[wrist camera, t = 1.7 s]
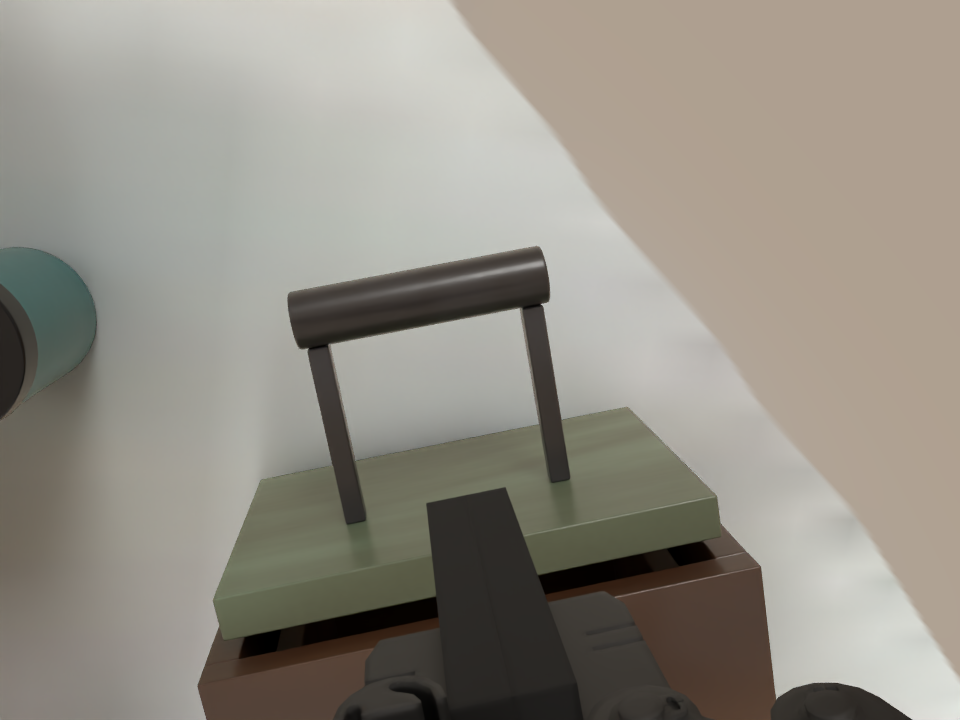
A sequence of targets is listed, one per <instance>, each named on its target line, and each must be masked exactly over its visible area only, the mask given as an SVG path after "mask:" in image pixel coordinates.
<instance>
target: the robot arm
mask: <svg viewBox="0 0 960 720" xmlns="http://www.w3.org/2000/svg"><path fill="white" fill-rule="evenodd" d="M426 507H427V516H428V525H429V534H430V543H431V553H432V562H433V571H434V580H435V589H436V598H437V607H438V617H439V626H440V628H436V629H431V630H426V631H421V632H417V633H412V634H407V635H402V636H398V637H393V638H388V639H383V640H380V641H379V642H378V643H377V645H376V646H375V648H374V649H373V651H372V652H371V654H370V655H369V657H368V658H367V659H366V661H365V678H364V683H365V686H364V687H363V688H362V689H360V690H358V691H357V692H355V693H353V694H351V695H350V696H349V697H348V698H347V699H346V700H345V701H344V702H343V703H342V704H341V705H340V706H339V707H338V709H337V711H336V714H335V716H334V719H333V720H715V719H711V718H707V717H704V716H702V715H701V713H700V711H699V710H698V708H697V706H696V705H695V704H694V703H693V702H692V701H691V700H690V699H689V698H688V697H687V696H686V695H684V694H682V693H679V692H677V691H675V690H673V689H671V687H670V686H669V684H668V682H667V680H666V678H665V676H664V675H663V673H662V671H661V669H660V667H659V665H658V664H657V662H656V660H655V658H654V656H653V654H652V652H651V651H650V649H649V647H648V645H647V643H646V641H645V640H643V636H642V634H641V632H640V630H639V629H638V627H637V625H635V621H634V619H633V618H632V616H631V614H630V612H629V610H628V608H627V606H626V605H625V603H623V602H621V601H620V600H618V599H616V598H615V597H613V596H611V595H610V594H608V593H606V592H605V591H600V592H595V593H590V594H585V595H581V596H576V597H571V598H566V599H562V600H557V601H552V602H547V599H546V596H545V594H544V591H543V588H542V585H541V583H540V580H539V577H538V574H537V572H536V569H535V566H534V563H533V561H532V558H531V555H530V553H529V550H528V547H527V544H526V542H525V539H524V536H523V533H522V531H521V528H520V525H519V522H518V520H517V517H516V514H515V512H514V509H513V506H512V503H511V501H510V498H509V495H508V492H507V490H506V487H503V488H498V489H493V490H488V491H483V492H479V493H474V494H469V495H464V496H459V497H454V498H449V499H444V500H439V501H434V502H429V503H426ZM770 713H771V720H912V719H910V718H909V717H907V716H906V715H904V714H903V713H902V712H900V711H899V710H897V709H896V708H894V707H893V706H891V705H890V704H888V703H887V702H885V701H884V700H882V699H881V698H880V697H878V696H875V695H873V694H871V693H869V692H867V691H865V690H863V689H861V688H858V687H853V686H849V685H844V684H839V683H812V684H808V685H804V686H800V687H796V688H793V689H791V690H790V691H788V692H786V693H785V694H783V695H781V696H780V697H778V698H777V700H776V702H775V703H774V705H773V707H772V708H771V710H770Z"/></svg>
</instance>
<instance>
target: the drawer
mask: <svg viewBox="0 0 960 720" xmlns="http://www.w3.org/2000/svg"><path fill="white" fill-rule="evenodd" d="M549 300H550V284H549V277H548V271H547V266H546V262H545V259H544V255H543V253H542V250H541V249H540V247H538V246H534V247H529V248H523V249H518V250H513V251H507V252H502V253H497V254H491V255H486V256H481V257H475V258H470V259H464V260H459V261H454V262H448V263H443V264H438V265H432V266H427V267H422V268H416V269H411V270H406V271H400V272H395V273H390V274H384V275H379V276H374V277H368V278H363V279H358V280H352V281H347V282H341V283H336V284H331V285H325V286H320V287H315V288H309V289H304V290H299V291H293V292H290V293H289V294H288V311H289V317H290V322H291V327H292V331H293V335H294V338H295V341H296V343H297V346H298V347H299V349H302V350H303V349H308V348H309V349H308V352H307V353H308V357H309V362H310V366H311V370H312V375H313V379H314V384H315V388H316V393H317V397H318V402H319V406H320V411H321V415H322V420H323V424H324V429H325V433H326V437H327V442H328V446H329V451H330V455H331V460H332V464H333V465H332V466H327V467H322V468H317V469H312V470H307V471H302V472H297V473H292V474H287V475H282V476H277V477H272V478H267V479H262V480H261V481H260V483H259V486H258V488H257V491H256V493H255V496H254V498H253V501H252V503H251V506H250V508H249V511H248V513H247V516H246V518H245V521H244V523H243V526H242V528H241V531H240V533H239V536H238V538H237V541H236V543H235V546H234V548H233V551H232V553H231V556H230V558H229V561H228V563H227V566H226V568H225V571H224V573H223V576H222V578H221V581H220V583H219V586H218V588H217V591H216V593H215V596H214V598H213V603H214V607H215V611H216V614H217V618H218V622H219V626H220V630H221V633H222V637H223V640H224V641H227V640H232V639H237V638H242V637H246V636H251V635H256V634H261V633H266V632H270V631H275V630H280V629H281V632H280V636H279V641H278V645H277V649H276V652H277V651H281V650H286V649H291V648H295V647H300V646H305V645H310V644H314V643H319V642H324V641H329V640H333V639H338V638H343V637H348V636H352V635H357V634H362V633H367V632H371V631H376V630H381V629H386V628H390V627H395V626H400V625H404V624H409V623H414V622H419V621H423V620H428V619H433V618H438V607H437V598H436V589H435V580H434V571H433V562H432V553H431V543H430V534H429V525H428V516H427V507H426V503H429V502H434V501H439V500H444V499H449V498H454V497H459V496H464V495H469V494H474V493H479V492H483V491H488V490H493V489H498V488H503V487H506V490H507V492H508V495H509V498H510V501H511V503H512V506H513V509H514V512H515V514H516V517H517V520H518V522H519V525H520V528H521V531H522V533H523V536H524V539H525V542H526V544H527V547H528V550H529V553H530V555H531V558H532V561H533V563H534V566H535V569H536V572H537V574H538V577H539V580H540V583H541V585H542V588H543V591H544V594H545V595H547V594H551V593H556V592H561V591H566V590H570V589H575V588H580V587H585V586H589V585H594V584H599V583H604V582H608V581H613V580H618V579H623V578H627V577H632V576H637V575H641V574H646V573H651V572H656V571H660V570H665V569H670V568H675V567H679V565H678V564H677V562H676V561H675V560H674V558H673V557H672V555H671V554H670V553H669V551H668V550H667V549H666V548H671V547H676V546H681V545H686V544H690V543H695V542H700V541H705V540H709V539H714V538H719V537H721V536H722V533H721V525H720V517H719V509H718V501H717V496H716V495H715V494H714V493H713V492H712V491H711V490H710V489H709V488H708V487H707V486H706V485H705V484H704V483H703V482H702V481H701V480H700V479H699V478H698V477H697V476H696V475H695V474H694V473H693V472H692V471H691V470H690V469H689V468H688V467H687V466H686V465H685V464H684V463H683V462H682V461H681V460H680V459H679V458H678V457H677V456H676V455H675V454H674V453H673V452H672V451H671V450H670V449H669V448H668V447H667V446H666V445H665V444H664V443H663V442H662V441H661V440H660V439H659V438H658V437H657V436H656V435H655V434H654V433H653V432H652V431H651V430H650V429H649V428H648V427H647V426H646V425H645V424H644V423H643V422H642V421H641V420H640V419H639V418H638V417H637V416H636V415H635V414H634V413H633V412H632V411H631V410H630V409H629V408H628V407H624V408H619V409H614V410H609V411H604V412H599V413H594V414H589V415H584V416H578V417H573V418H568V419H563V420H561V414H560V408H559V401H558V395H557V389H556V383H555V377H554V370H553V364H552V358H551V352H550V346H549V339H548V333H547V327H546V321H545V315H544V308H543V306H542V305H541V304H544V303H547V302H549ZM517 308H520V313H521V319H522V325H523V331H524V337H525V343H526V349H527V355H528V361H529V367H530V373H531V379H532V385H533V391H534V397H535V403H536V409H537V415H538V420H539V424H538V425H533V426H528V427H523V428H518V429H513V430H508V431H503V432H498V433H493V434H488V435H483V436H478V437H473V438H468V439H463V440H458V441H453V442H448V443H443V444H438V445H433V446H428V447H423V448H418V449H413V450H408V451H403V452H398V453H393V454H388V455H383V456H378V457H373V458H368V459H363V460H358V461H355V457H354V452H353V448H352V443H351V438H350V434H349V429H348V425H347V420H346V415H345V411H344V406H343V402H342V397H341V392H340V388H339V383H338V379H337V374H336V369H335V365H334V360H333V356H332V351H331V346H330V344H334V343H339V342H345V341H350V340H355V339H360V338H366V337H371V336H376V335H381V334H387V333H392V332H397V331H402V330H407V329H413V328H418V327H423V326H428V325H434V324H439V323H444V322H449V321H455V320H460V319H465V318H470V317H476V316H481V315H486V314H491V313H497V312H502V311H507V310H512V309H517Z"/></svg>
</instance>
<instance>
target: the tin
mask: <svg viewBox="0 0 960 720" xmlns="http://www.w3.org/2000/svg"><path fill="white" fill-rule="evenodd" d="M95 331H96V312H95V307H94V303H93V300H92V297H91V294H90V292H89V290H88V288H87V286H86V285H85V283H84V282H83V280H82V279H81V278H80V277H79V275H78V274H77V273H76V272H75V271H74V270H73V269H72V268H71V267H70V266H68V265H67V264H66V263H64V262H63V261H61V260H60V259H58V258H56V257H54V256H53V255H51V254H48V253H45V252H43V251H39V250H36V249H31V248H24V247H13V248H4V249H0V421H1V420H3V419H4V418H6V417H7V416H8V415H10V414H11V413H12V412H13V411H14V410H15V409H16V408H17V407H18V406H19V405H20V404H21V403H22V402H24V401H25V400H27V399H28V398H30V397H31V396H33V395H35V394H36V393H38V392H39V391H41V390H42V389H44V388H45V387H47V386H48V385H50V384H52V383H53V382H55V381H56V380H58V379H59V378H61V377H62V376H64V375H65V374H67V373H68V372H70V371H71V370H72V369H74V368H75V367H76V366H77V365H78V364H79V363H80V362H81V361H82V360H83V358H84V357H85V356H86V354H87V353H88V351H89V349H90V347H91V345H92V342H93V339H94V335H95Z"/></svg>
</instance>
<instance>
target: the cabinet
mask: <svg viewBox="0 0 960 720" xmlns="http://www.w3.org/2000/svg"><path fill="white" fill-rule="evenodd" d="M720 525H721V524H720ZM721 533H722V536H721V537H719V538H714V539H709V540H705V541H700V542H695V543H690V544H686V545H681V546H676V547H671V548H666V549H667V550H668V551H669V553H670V554H671V555H672V557H673V558H674V560H675V561H676V562H677V564H678V565H679V567H675V568H670V569H665V570H660V571H656V572H651V573H646V574H641V575H637V576H632V577H627V578H623V579H618V580H613V581H608V582H604V583H599V584H594V585H589V586H585V587H580V588H575V589H570V590H566V591H561V592H556V593H551V594H547V595H545V596H546V599H547V602H552V601H557V600H562V599H566V598H571V597H576V596H581V595H585V594H590V593H595V592H600V591H605V592H606V593H608V594H610V595H611V596H613V597H615V598H616V599H618V600H620V601H621V602H623V603H625V605H626V606H627V608H628V610H629V612H630V614H631V616H632V618H633V619H634V621H635V625H637V627H638V629H639V630H640V632H641V634H642V636H643V640H645V641H646V643H647V645H648V647H649V649H650V651H651V652H652V654H653V656H654V658H655V660H656V662H657V664H658V665H659V667H660V669H661V671H662V673H663V675H664V676H665V678H666V680H667V682H668V684H669V686H670V687H671V689H673V690H675V691H677V692H679V693H682V694H684V695H686V696H687V697H688V698H689V699H690V700H691V701H692V702H693V703H694V704H695V705H696V706H697V708H698V710H699V711H700V713H701V715H702V716H704V717H707V718H711V719H715V720H771V713H770V710H771V708H772V707H773V705H774V703H775V702H776V697H775V688H774V679H773V670H772V661H771V652H770V643H769V635H768V626H767V617H766V608H765V599H764V590H763V581H762V573H761V566H760V565H759V564H758V563H757V562H756V561H755V560H754V559H753V558H752V557H751V556H750V554H749V553H747V552H746V551H745V549H744V548H743V547H742V546H741V545H740V544H739V543H738V542H737V541H736V540H735V539H734V538H733V537H732V536H731V534H730V533H729V532H728V531H727V530H726V529H725V528H724V527H723V526H722V525H721ZM436 628H440V626H439V617H438V618H433V619H428V620H423V621H419V622H414V623H409V624H404V625H400V626H395V627H390V628H386V629H381V630H376V631H371V632H367V633H362V634H357V635H352V636H348V637H343V638H338V639H333V640H329V641H324V642H319V643H314V644H310V645H305V646H300V647H295V648H291V649H286V650H281V651H277V652H276V649H277V645H278V641H279V636H280V632H281V629H280V630H275V631H270V632H266V633H261V634H256V635H251V636H246V637H242V638H237V639H232V640H227V641H224V640H223V637H222V633H221V630H220V626H219V628H218V631H217V633H216V636H215V639H214V642H213V644H212V647H211V650H210V653H209V655H208V658H207V661H206V664H205V667H204V669H203V672H202V675H201V678H200V680H199V683H198V686H197V687H198V690H199V694H200V698H201V701H202V705H203V708H204V712H205V716H206V719H207V720H333V719H334V716H335V714H336V711H337V709H338V707H339V706H340V705H341V704H342V703H343V702H344V701H345V700H346V699H347V698H348V697H349V696H350V695H351V694H353V693H355V692H357V691H358V690H360V689H362V688H363V687H364V686H365V683H364V678H365V661H366V659H367V658H368V657H369V655H370V654H371V652H372V651H373V649H374V648H375V646H376V645H377V643H378V642H379V641H380V640H383V639H388V638H393V637H398V636H402V635H407V634H412V633H417V632H421V631H426V630H431V629H436Z"/></svg>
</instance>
